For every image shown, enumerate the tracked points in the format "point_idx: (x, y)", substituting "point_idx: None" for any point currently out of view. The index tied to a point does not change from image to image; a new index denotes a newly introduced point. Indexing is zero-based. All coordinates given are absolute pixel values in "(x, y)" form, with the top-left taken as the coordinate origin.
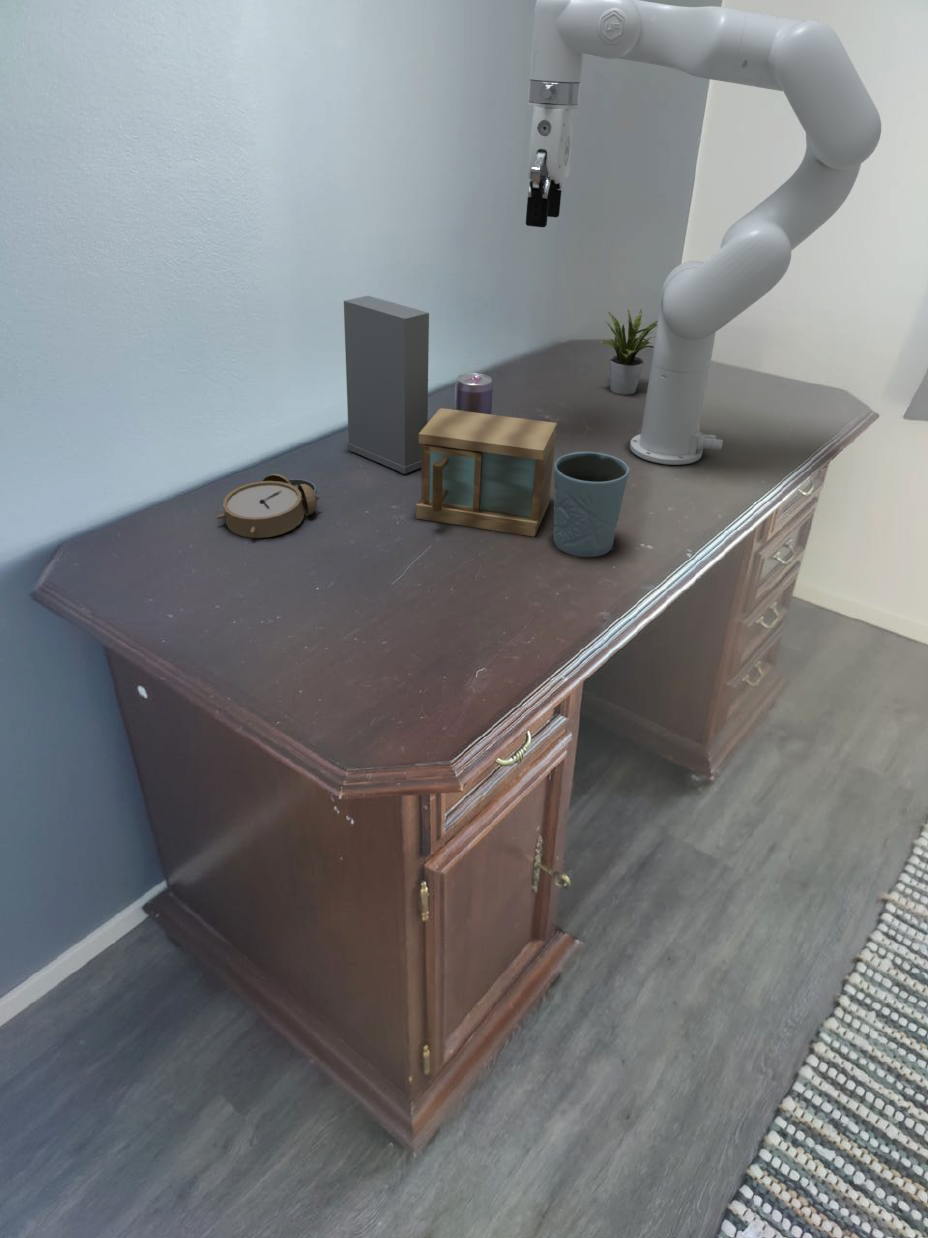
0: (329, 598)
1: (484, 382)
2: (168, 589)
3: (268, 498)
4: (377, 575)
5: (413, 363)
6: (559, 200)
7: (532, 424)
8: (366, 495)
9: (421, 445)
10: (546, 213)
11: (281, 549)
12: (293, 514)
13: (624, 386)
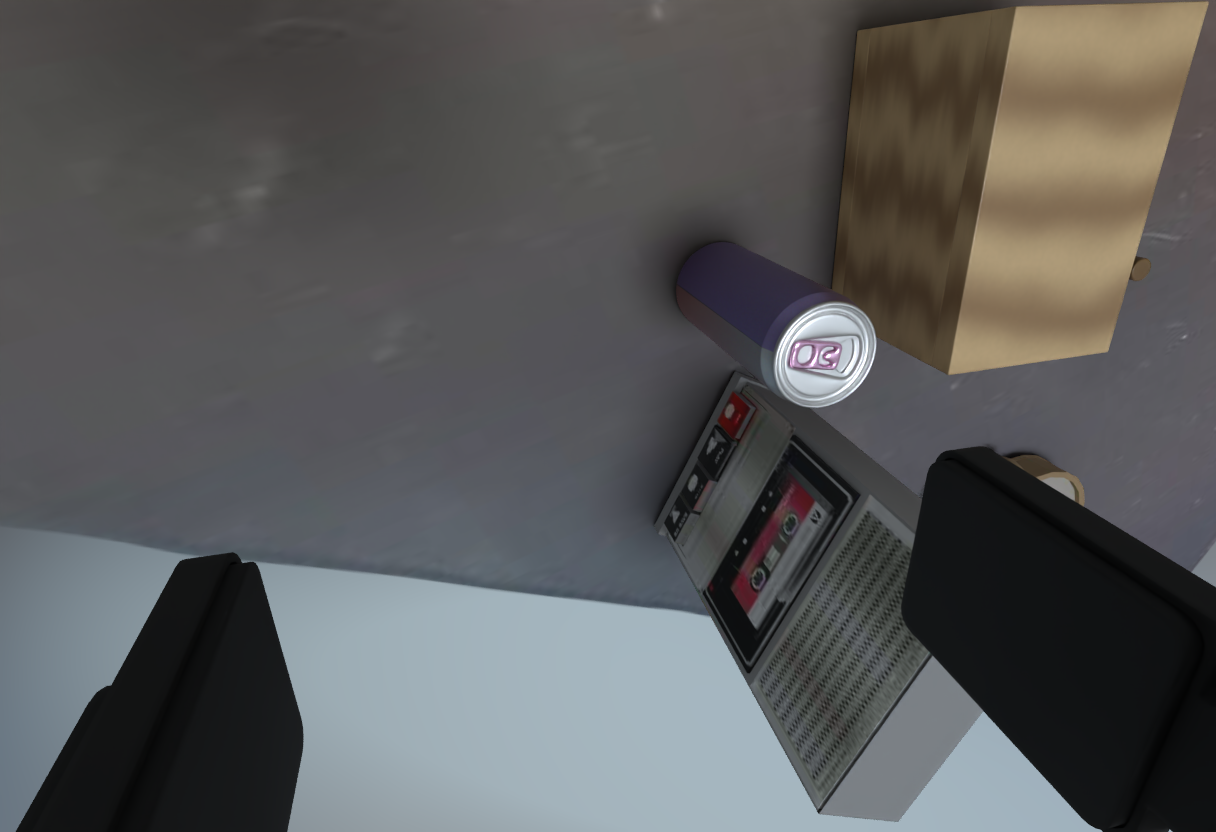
0: (1210, 308)
1: (842, 318)
2: (1176, 499)
3: None
4: (1154, 272)
5: None
6: (169, 713)
7: (1035, 86)
8: (893, 417)
9: (778, 401)
10: (1087, 513)
11: (1081, 438)
12: (1050, 467)
13: None
